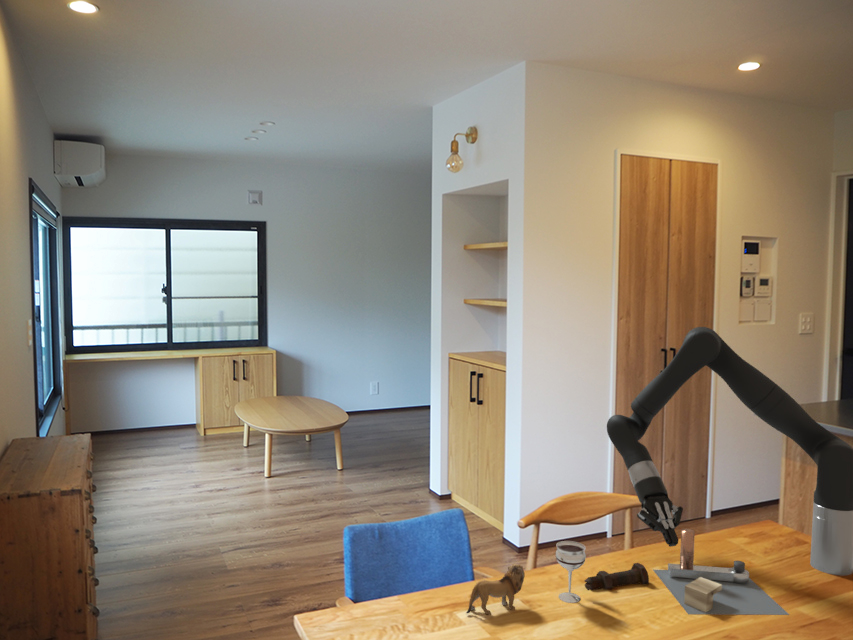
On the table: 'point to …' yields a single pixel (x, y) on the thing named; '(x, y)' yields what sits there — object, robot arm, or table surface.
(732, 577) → the link
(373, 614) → the table surface
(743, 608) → the board
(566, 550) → the wineglass
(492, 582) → the lion figurine
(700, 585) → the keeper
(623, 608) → the table surface
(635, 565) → the bolt
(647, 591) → the table surface
